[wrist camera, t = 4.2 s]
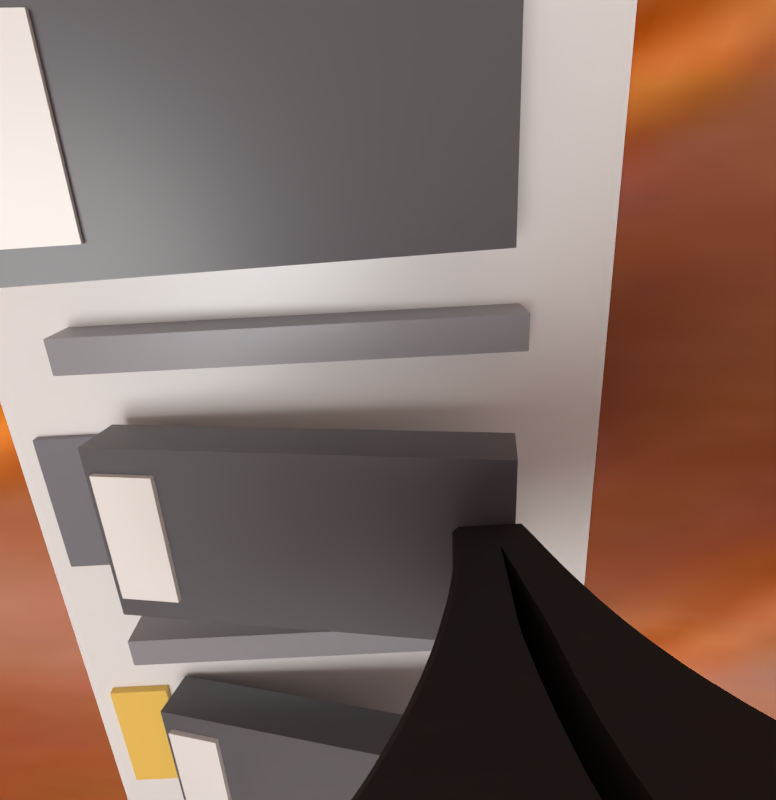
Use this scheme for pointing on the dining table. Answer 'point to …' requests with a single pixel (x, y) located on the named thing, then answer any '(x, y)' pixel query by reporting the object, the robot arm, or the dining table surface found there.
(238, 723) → the block
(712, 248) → the dining table surface
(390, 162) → the rocker
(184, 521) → the middle rocker
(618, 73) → the switch board
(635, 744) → the robot arm
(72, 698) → the dining table surface
